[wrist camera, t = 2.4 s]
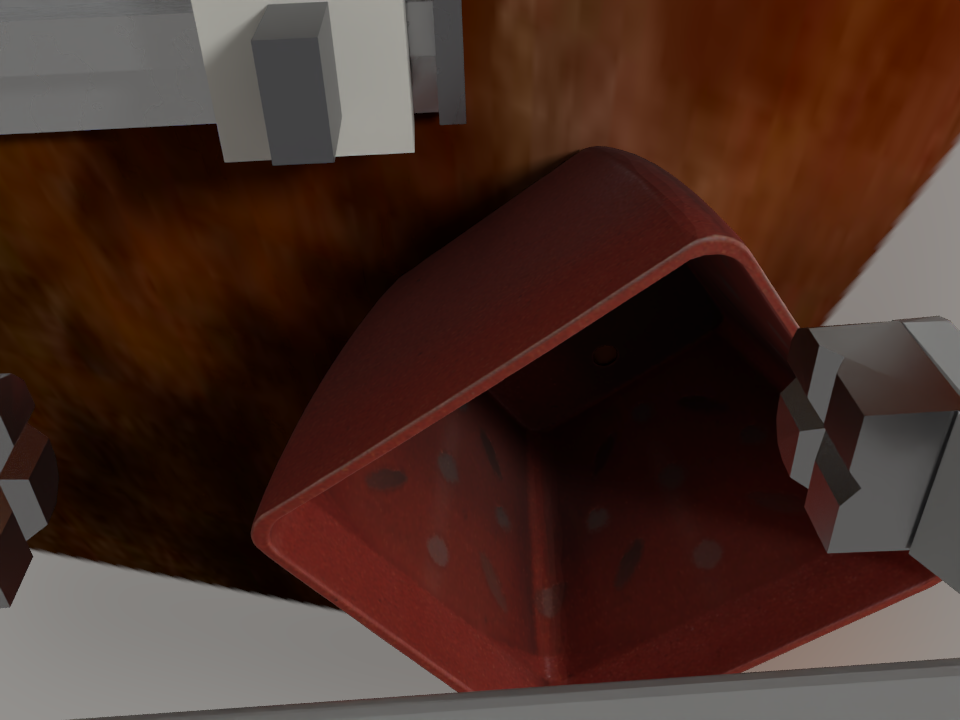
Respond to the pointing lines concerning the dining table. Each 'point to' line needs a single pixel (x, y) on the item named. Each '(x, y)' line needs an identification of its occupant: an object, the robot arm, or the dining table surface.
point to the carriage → (307, 78)
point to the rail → (165, 64)
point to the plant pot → (570, 452)
